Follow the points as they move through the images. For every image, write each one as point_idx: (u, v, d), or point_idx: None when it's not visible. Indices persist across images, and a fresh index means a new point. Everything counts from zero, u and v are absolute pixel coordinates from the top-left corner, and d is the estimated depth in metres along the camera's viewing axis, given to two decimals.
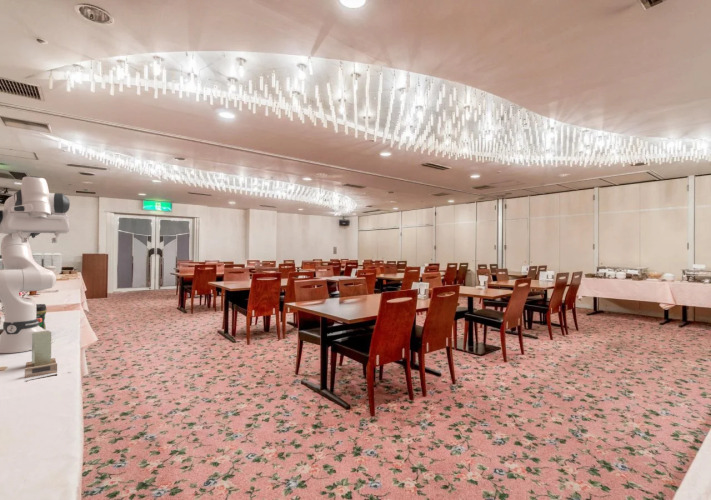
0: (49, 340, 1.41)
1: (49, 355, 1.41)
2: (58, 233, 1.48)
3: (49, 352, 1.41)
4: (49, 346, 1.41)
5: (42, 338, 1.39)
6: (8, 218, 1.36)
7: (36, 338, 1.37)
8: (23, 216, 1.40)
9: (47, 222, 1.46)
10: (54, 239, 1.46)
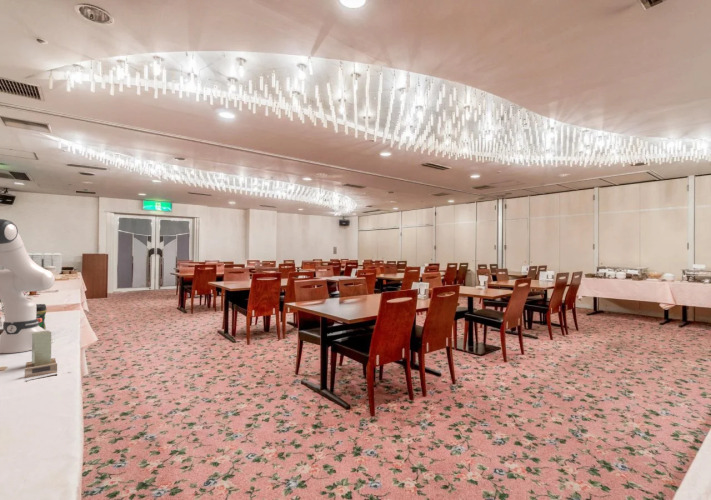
0: (49, 340, 1.41)
1: (49, 355, 1.41)
2: None
3: (49, 352, 1.41)
4: (49, 346, 1.41)
5: (42, 338, 1.39)
6: None
7: (36, 338, 1.37)
8: None
9: None
10: None
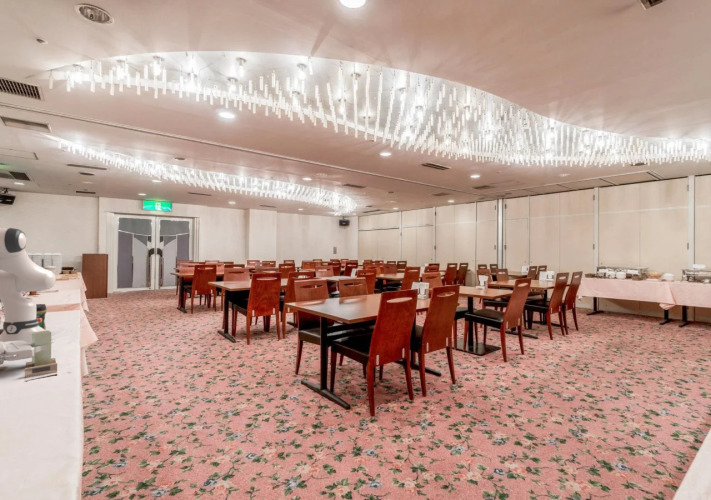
0: (49, 340, 1.41)
1: (49, 355, 1.41)
2: None
3: (49, 352, 1.41)
4: (49, 346, 1.41)
5: (42, 338, 1.39)
6: None
7: (36, 338, 1.37)
8: None
9: None
10: None
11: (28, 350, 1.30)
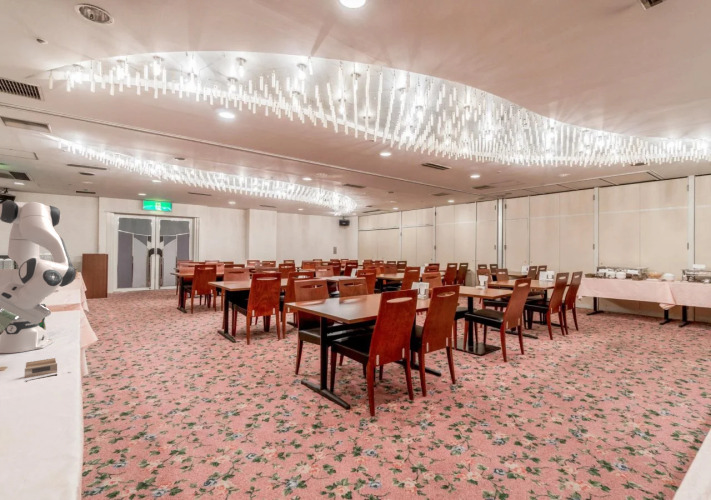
0: None
1: None
2: (22, 318, 1.45)
3: None
4: None
5: None
6: None
7: None
8: (6, 299, 1.38)
9: (23, 311, 1.42)
10: (14, 320, 1.45)
11: None
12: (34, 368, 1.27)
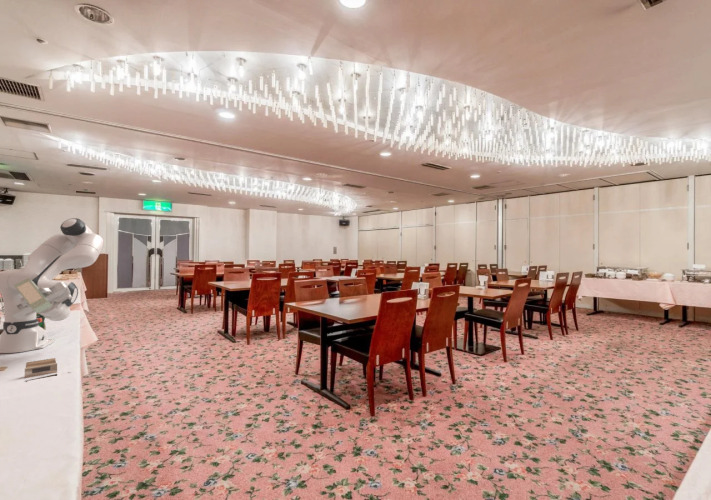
0: (19, 292, 1.35)
1: (28, 303, 1.34)
2: (24, 305, 1.38)
3: (26, 301, 1.34)
4: (22, 296, 1.34)
5: None
6: (68, 292, 1.50)
7: None
8: (58, 298, 1.48)
9: None
10: (25, 301, 1.36)
11: None
12: (34, 368, 1.27)
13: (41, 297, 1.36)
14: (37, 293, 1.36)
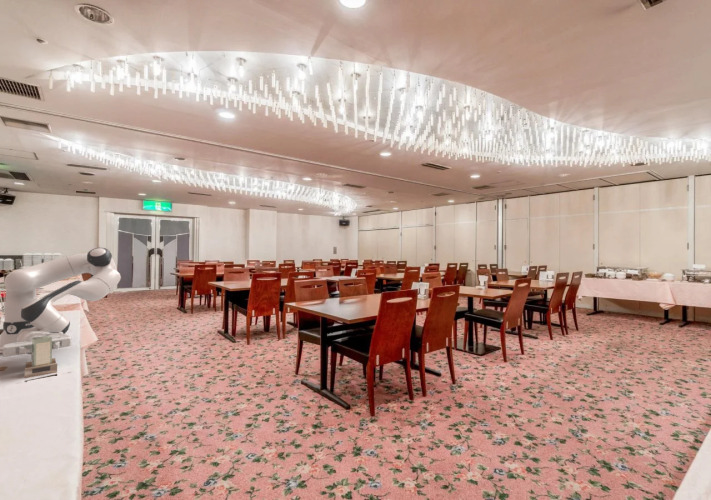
0: (34, 348, 1.29)
1: (33, 365, 1.28)
2: (20, 353, 1.30)
3: (33, 361, 1.28)
4: (34, 355, 1.29)
5: (33, 344, 1.30)
6: None
7: (32, 342, 1.31)
8: None
9: None
10: None
11: (2, 348, 1.28)
12: (34, 368, 1.27)
13: None
14: (49, 358, 1.31)
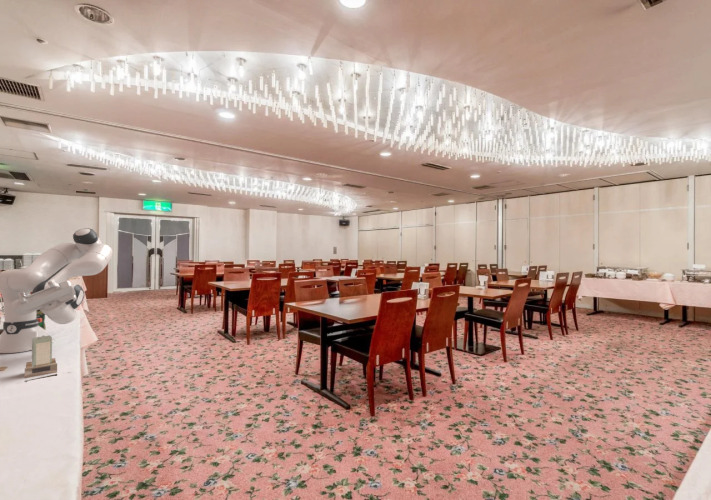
0: (34, 348, 1.29)
1: (33, 365, 1.28)
2: (22, 302, 1.37)
3: (33, 361, 1.28)
4: (34, 355, 1.29)
5: (33, 344, 1.30)
6: (73, 292, 1.49)
7: (32, 342, 1.31)
8: (62, 298, 1.47)
9: (38, 304, 1.42)
10: (23, 296, 1.35)
11: None
12: (34, 368, 1.27)
13: None
14: (49, 358, 1.31)
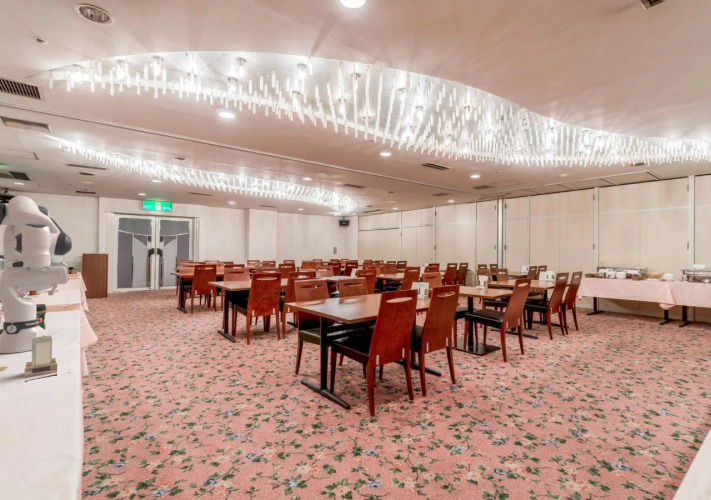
0: (34, 348, 1.29)
1: (33, 365, 1.28)
2: (55, 286, 1.45)
3: (33, 361, 1.28)
4: (34, 355, 1.29)
5: (33, 344, 1.30)
6: (5, 274, 1.32)
7: (32, 342, 1.31)
8: (21, 271, 1.35)
9: (45, 276, 1.42)
10: (51, 293, 1.44)
11: None
12: (34, 368, 1.27)
13: None
14: (49, 358, 1.31)
